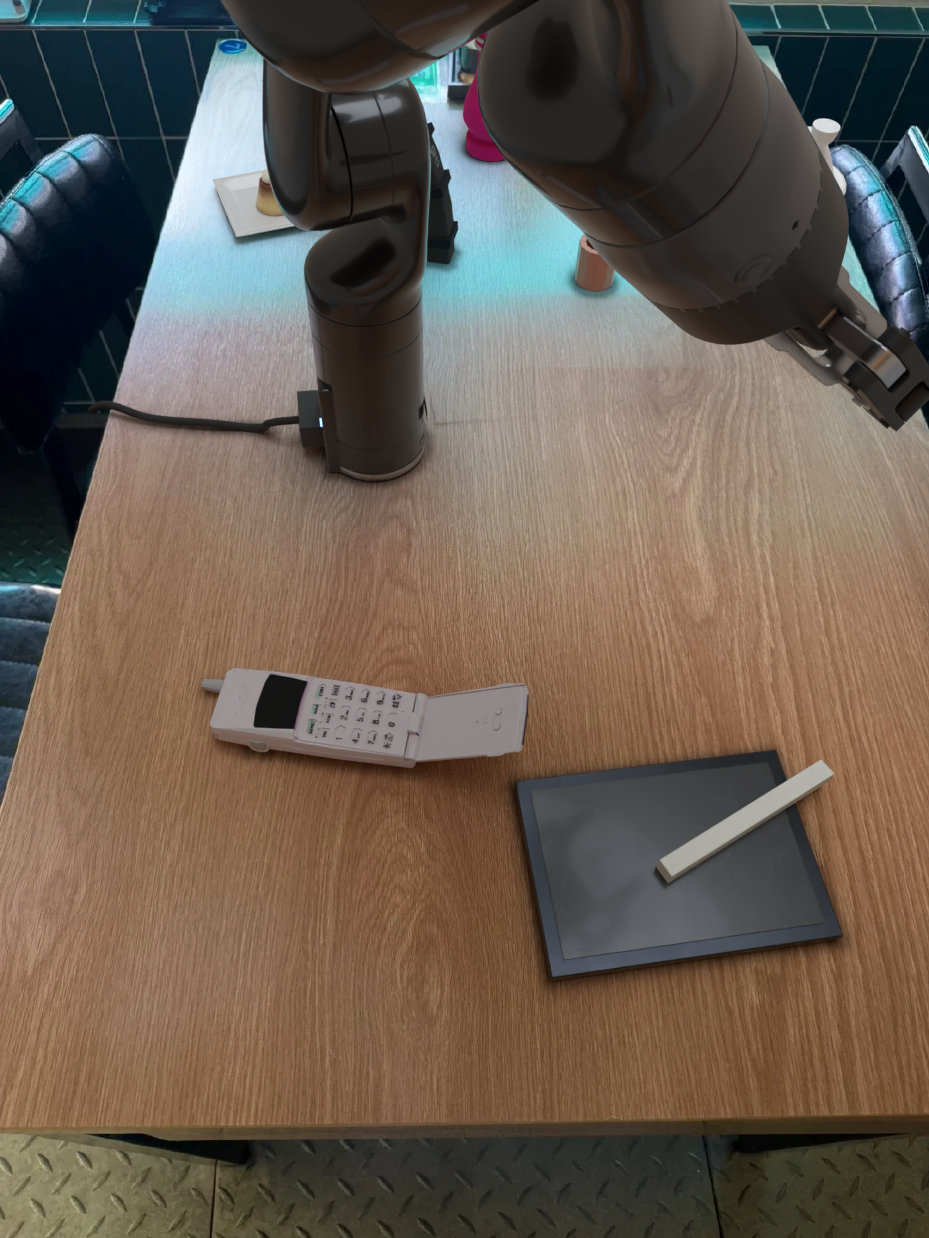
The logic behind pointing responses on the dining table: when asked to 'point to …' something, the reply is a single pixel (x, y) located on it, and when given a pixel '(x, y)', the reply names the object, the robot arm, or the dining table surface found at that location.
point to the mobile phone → (365, 718)
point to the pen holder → (592, 268)
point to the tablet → (635, 889)
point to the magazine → (439, 210)
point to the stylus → (743, 821)
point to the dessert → (250, 203)
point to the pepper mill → (478, 121)
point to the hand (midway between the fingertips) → (827, 348)
